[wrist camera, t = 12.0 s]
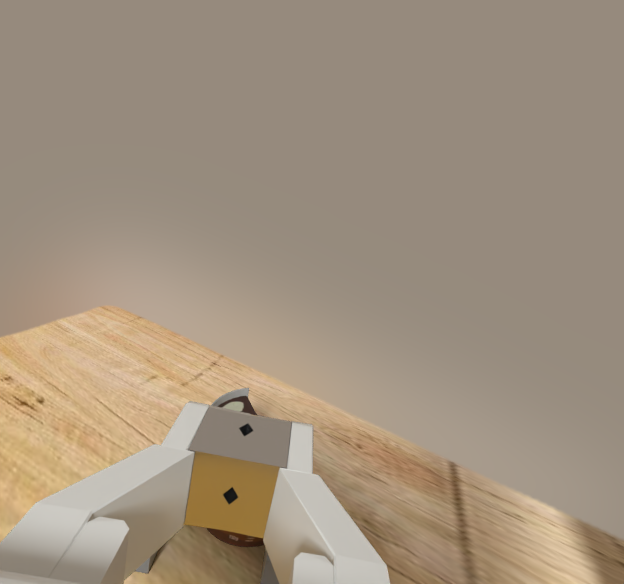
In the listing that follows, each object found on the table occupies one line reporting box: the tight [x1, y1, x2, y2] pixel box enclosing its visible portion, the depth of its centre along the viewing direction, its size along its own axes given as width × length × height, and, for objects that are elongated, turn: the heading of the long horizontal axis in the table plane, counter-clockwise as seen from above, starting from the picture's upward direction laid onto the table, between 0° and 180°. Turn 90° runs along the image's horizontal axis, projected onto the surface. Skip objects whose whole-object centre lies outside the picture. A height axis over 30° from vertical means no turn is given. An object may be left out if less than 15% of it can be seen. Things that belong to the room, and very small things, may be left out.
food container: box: [207, 388, 264, 547], centre depth 35 cm, size 12×6×10 cm, turn 25°
